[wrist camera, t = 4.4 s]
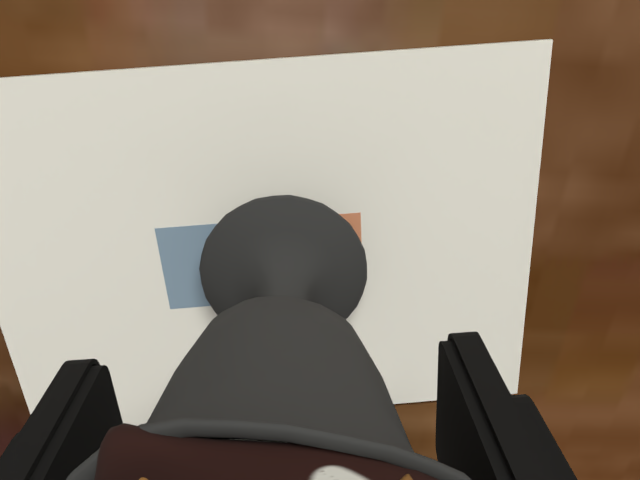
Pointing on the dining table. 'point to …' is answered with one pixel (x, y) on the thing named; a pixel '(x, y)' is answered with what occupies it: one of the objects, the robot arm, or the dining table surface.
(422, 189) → the tile
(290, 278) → the sundae
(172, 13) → the dining table surface
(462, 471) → the robot arm
